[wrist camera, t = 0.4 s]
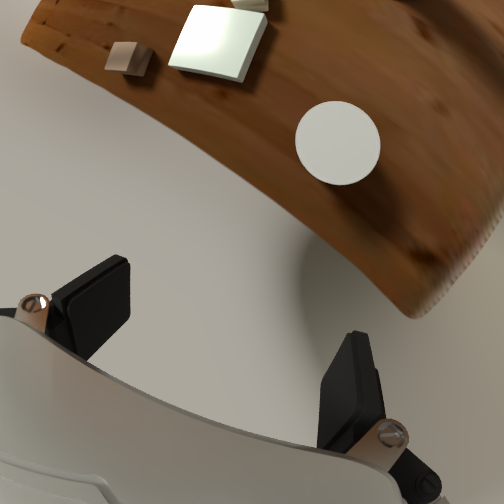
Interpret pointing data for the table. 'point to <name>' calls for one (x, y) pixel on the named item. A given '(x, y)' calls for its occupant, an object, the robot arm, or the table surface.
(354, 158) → the white cylinder
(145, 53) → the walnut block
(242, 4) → the birch block
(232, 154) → the table surface
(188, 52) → the plate
